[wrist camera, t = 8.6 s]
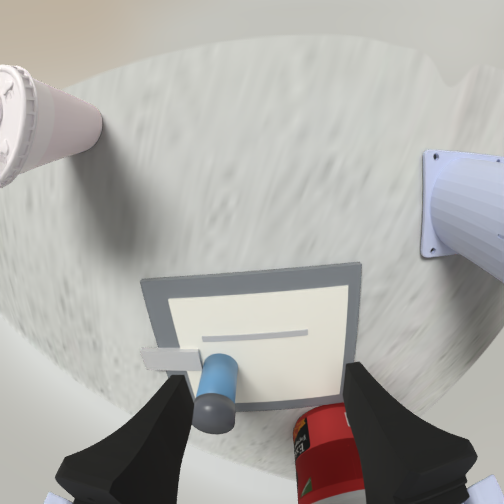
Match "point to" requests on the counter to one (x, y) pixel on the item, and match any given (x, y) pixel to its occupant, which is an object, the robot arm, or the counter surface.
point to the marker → (216, 395)
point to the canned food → (327, 458)
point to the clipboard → (260, 331)
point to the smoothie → (40, 123)
